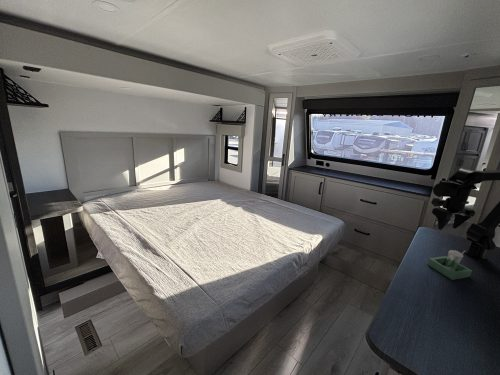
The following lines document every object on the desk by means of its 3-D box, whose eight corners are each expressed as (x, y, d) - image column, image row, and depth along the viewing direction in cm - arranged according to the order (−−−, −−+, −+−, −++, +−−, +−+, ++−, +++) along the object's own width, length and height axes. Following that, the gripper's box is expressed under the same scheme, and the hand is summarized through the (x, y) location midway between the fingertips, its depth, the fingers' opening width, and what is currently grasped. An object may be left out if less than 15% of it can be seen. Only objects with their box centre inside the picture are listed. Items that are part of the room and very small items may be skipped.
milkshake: (461, 274, 91) (470, 253, 88) (448, 273, 92) (456, 252, 89) (452, 267, 96) (460, 247, 93) (439, 266, 96) (447, 246, 93)
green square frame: (443, 261, 99) (445, 256, 99) (469, 276, 90) (472, 270, 89) (427, 264, 97) (429, 258, 96) (452, 279, 88) (454, 273, 87)
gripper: (453, 191, 108) (443, 220, 112) (425, 191, 102) (415, 222, 107) (481, 199, 97) (468, 230, 102) (451, 200, 92) (439, 233, 97)
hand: (446, 228), depth 102 cm, fingers open, 9 cm apart
